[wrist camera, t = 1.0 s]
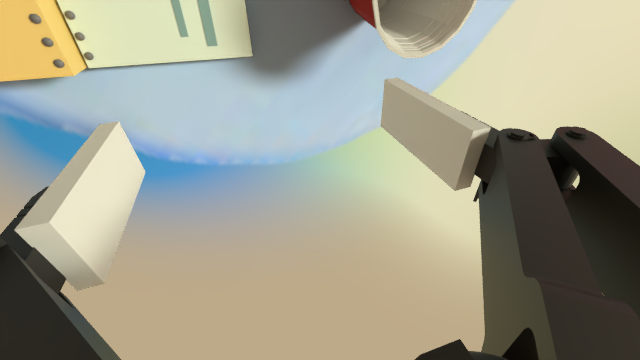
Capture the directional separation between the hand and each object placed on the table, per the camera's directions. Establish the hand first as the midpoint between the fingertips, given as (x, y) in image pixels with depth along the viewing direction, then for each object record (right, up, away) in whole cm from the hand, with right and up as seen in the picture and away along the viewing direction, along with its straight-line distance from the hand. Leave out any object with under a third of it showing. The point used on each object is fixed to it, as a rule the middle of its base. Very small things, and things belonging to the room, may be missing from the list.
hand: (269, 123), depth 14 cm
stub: (-24, +12, +11) cm, 29 cm away
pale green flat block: (-13, +14, +13) cm, 24 cm away
